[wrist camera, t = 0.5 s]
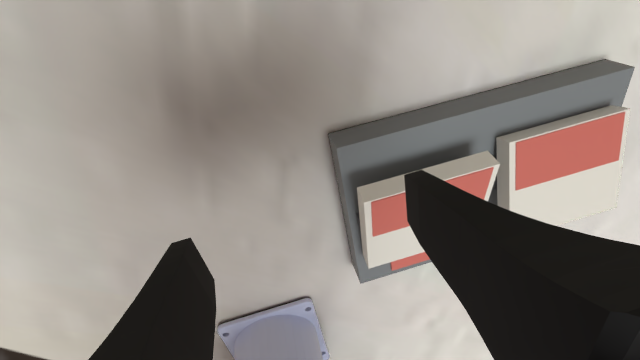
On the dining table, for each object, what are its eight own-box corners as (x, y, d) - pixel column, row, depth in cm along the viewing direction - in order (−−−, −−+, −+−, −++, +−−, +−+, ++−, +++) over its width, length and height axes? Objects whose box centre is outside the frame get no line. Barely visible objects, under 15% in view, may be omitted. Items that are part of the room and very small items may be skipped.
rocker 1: (467, 223, 25) (477, 236, 24) (362, 254, 24) (368, 269, 24) (487, 150, 20) (500, 164, 19) (356, 187, 19) (364, 203, 19)
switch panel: (565, 200, 29) (591, 219, 27) (352, 264, 28) (363, 289, 26) (605, 59, 23) (644, 69, 21) (328, 133, 21) (339, 153, 19)
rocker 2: (600, 200, 25) (617, 208, 24) (497, 231, 24) (510, 240, 23) (611, 105, 22) (631, 108, 21) (496, 137, 21) (510, 143, 20)
